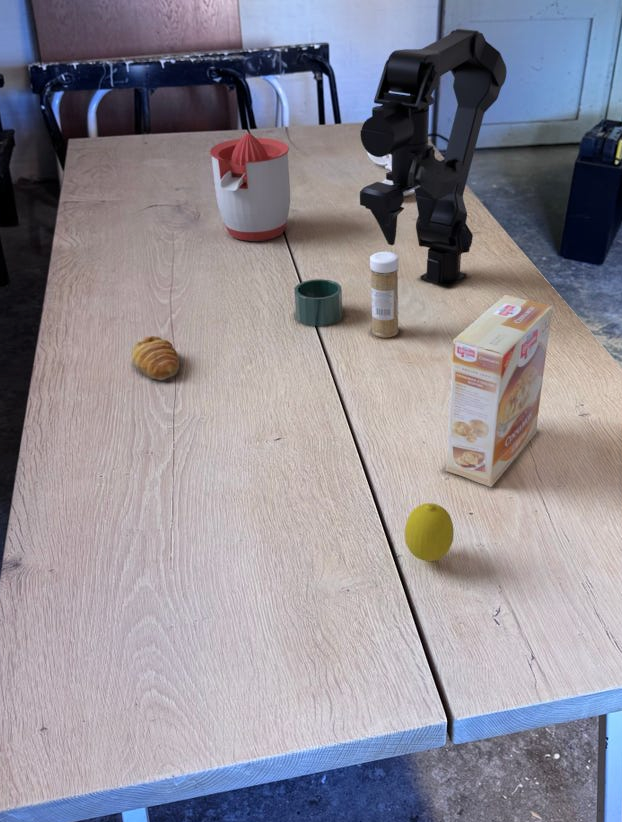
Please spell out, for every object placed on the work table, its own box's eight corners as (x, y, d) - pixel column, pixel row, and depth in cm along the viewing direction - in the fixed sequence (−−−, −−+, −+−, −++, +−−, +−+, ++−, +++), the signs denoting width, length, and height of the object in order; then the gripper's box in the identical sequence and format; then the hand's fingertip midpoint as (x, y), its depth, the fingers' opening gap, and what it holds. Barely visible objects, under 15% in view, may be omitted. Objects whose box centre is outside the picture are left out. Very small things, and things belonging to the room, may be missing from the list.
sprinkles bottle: (403, 329, 148) (403, 253, 139) (390, 341, 144) (390, 263, 136) (379, 324, 149) (378, 248, 141) (366, 335, 146) (364, 258, 138)
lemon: (401, 545, 104) (402, 491, 99) (447, 542, 104) (451, 488, 99) (407, 577, 99) (408, 523, 95) (455, 573, 100) (459, 519, 95)
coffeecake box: (492, 488, 112) (505, 354, 100) (443, 471, 115) (450, 339, 104) (538, 433, 122) (555, 304, 111) (492, 418, 125) (503, 292, 114)
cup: (317, 301, 157) (316, 275, 154) (351, 313, 152) (350, 287, 149) (286, 317, 152) (284, 290, 149) (321, 330, 148) (319, 303, 145)
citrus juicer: (200, 243, 179) (187, 142, 166) (241, 214, 191) (232, 119, 179) (269, 254, 174) (260, 151, 162) (306, 224, 187) (301, 126, 174)
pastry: (190, 375, 136) (187, 353, 134) (149, 387, 133) (145, 365, 131) (168, 350, 142) (165, 329, 140) (129, 362, 140) (124, 340, 137)
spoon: (400, 159, 222) (401, 145, 220) (421, 202, 197) (421, 187, 194) (365, 160, 221) (365, 146, 219) (381, 204, 196) (381, 189, 194)
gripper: (415, 164, 127) (413, 266, 137) (486, 135, 139) (479, 231, 148) (356, 150, 133) (358, 249, 142) (429, 123, 144) (426, 216, 154)
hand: (408, 236), depth 146 cm, fingers open, 9 cm apart
